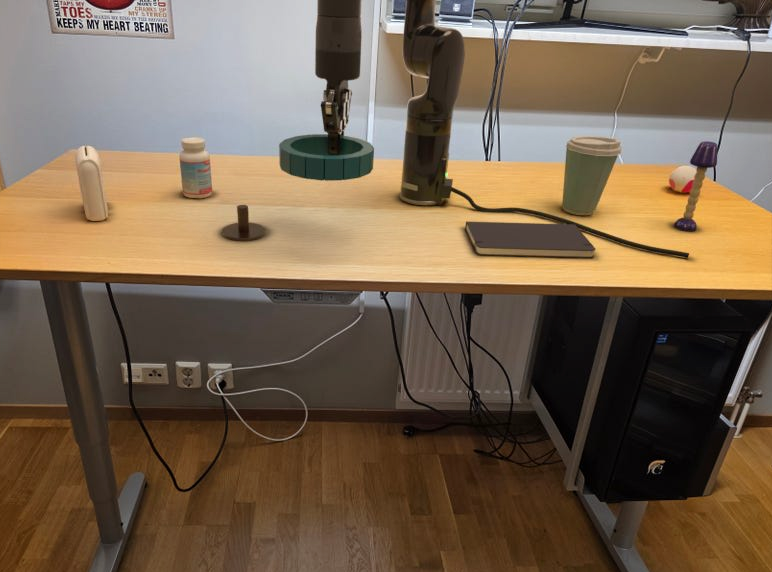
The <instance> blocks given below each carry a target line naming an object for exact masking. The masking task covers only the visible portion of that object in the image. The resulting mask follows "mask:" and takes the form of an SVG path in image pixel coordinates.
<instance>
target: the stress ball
mask: <svg viewBox="0 0 772 572" xmlns="http://www.w3.org/2000/svg"><path fill="white" fill-rule="evenodd" d="M696 170H697V168H694V167H693V166H692V165H691V166H690V165H680V166H679V167H676V168H675V169H673V170H672V171H671V173H670V174H669V177H668V184H669V187H668V190H670V189H672V190H673V191H674V192H677V193H680V194H681V193H682V194H683V193H687V194H690V191H691V189H692V184H693V181H694V176H695V174H696V173H697V171H696Z"/></svg>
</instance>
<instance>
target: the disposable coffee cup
mask: <svg viewBox="0 0 772 572" xmlns="http://www.w3.org/2000/svg"><path fill="white" fill-rule="evenodd" d="M565 148H566V150H565V162H564V163H565V164H564V177H563V190H562V202H561V203H562V204H561V205H562V210H564V212H566V213H569V214H571V215H577V216H590V215H593V214H594V212H595V211H596V209H597V207H598V205H599V202H600V201H601V197H602V195H603V192H604V191H605V188H606V185H607V183H608V181H609V178H610V176H611V173H612V171H613V168H614V167H615V164H616V161H617V159H618V156H619V155H621V153H622V147H621V140H620V139H617V138H614V137H607V136H596V135H579V136H573V137H572V138H570V139H569V140H568V141H567V142H566V146H565Z"/></svg>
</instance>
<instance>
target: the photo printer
mask: <svg viewBox="0 0 772 572" xmlns="http://www.w3.org/2000/svg"><path fill="white" fill-rule="evenodd" d="M74 156H75V159H74V160H75V167H76V172H77V173H76V174H77V178H78V183H79V189H80V194H81V199H82V205H83V209H84V214H85V217H86V219H87V220H90V222H91V221H93V222H98V221H100V222H101V221H104V220H106V219H107V218H108V217H109V206H108V201H107V196H106V190H105V184H104V183H105V182H104V179H103V172H102V171H103V170H102V164H101V159H100V155H99V153H98V151H97V150H96V149H95V147H93V146H91V145H82V146H80V147H79V148H78V149H77V150H76V152H75V155H74Z"/></svg>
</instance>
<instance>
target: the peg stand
mask: <svg viewBox="0 0 772 572" xmlns="http://www.w3.org/2000/svg"><path fill="white" fill-rule="evenodd" d="M236 215H237V216H236V217H237V222H234V223H230V224H227V225H225V226H224V227H223V228H222V229H221V235H222V236H223V237H224V238H225V239H228V240H231V241H236V242H250V241H255V240H258V239H261V238H263V237H265V235H266V233H267V230H266V228H265V226H264V225H261V224H258V223H255V222H250V215H249V205H247V204H238V205H236Z"/></svg>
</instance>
